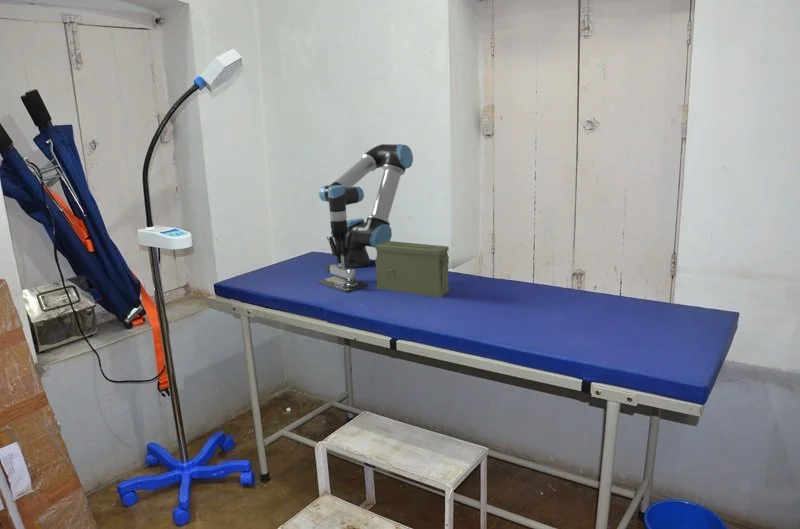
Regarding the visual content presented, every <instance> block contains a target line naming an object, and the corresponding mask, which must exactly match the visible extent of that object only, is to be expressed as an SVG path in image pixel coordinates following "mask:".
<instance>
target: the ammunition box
mask: <svg viewBox="0 0 800 529" xmlns="http://www.w3.org/2000/svg"><path fill="white" fill-rule="evenodd" d="M449 247H450V246H447V245H438V244H437V245H436V244H427V243H426V244H425V243H414V242H403V241H402V242H401V241H394V240H390V241H386V242H383V243H381V244H378V245H376V248H375V250H376V257H375V274H376V278H375V279H376V289H378V290H386V291H393V292H399V293H407V294H414V295H421V296H429V297H435V298H442V297H444V296H445V295H446V294H448V293H449V292H450V286H449V263H450V262H449V258H450V256H449V255H448V252H449Z"/></svg>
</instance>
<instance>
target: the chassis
mask: <svg viewBox="0 0 800 529" xmlns="http://www.w3.org/2000/svg"><path fill="white" fill-rule="evenodd" d="M355 281H356V282H355V283H352V284H350V283H348V279H347V278H344V277H341V276H338V275H334V276H331V277H327V278H324V279H319V280H317V283H318V284H320V285H323V286H325V287H329V288H332V289H334V290H336V291H340V292H342V293H347V294H348V293H350V292H354V291H357V290H360V289H365V288H367V287H368V283H365V282H361V281H358V280H355Z"/></svg>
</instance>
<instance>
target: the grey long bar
mask: <svg viewBox="0 0 800 529" xmlns="http://www.w3.org/2000/svg"><path fill="white" fill-rule="evenodd" d="M325 270H326V273H327V274H331V275H334V276H341V277H344V278H347V279H348V283H350V284H352V283H355V282H356V281H357V280H356V269H355V268H348V267H345V268H344V267H341V266H339V265H337V264H334V263H328V264H325Z"/></svg>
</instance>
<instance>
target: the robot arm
mask: <svg viewBox="0 0 800 529" xmlns="http://www.w3.org/2000/svg"><path fill="white" fill-rule="evenodd" d="M413 162H414V155H413V150H412V149H411V148H410V147H409V146H408V145H406V144H401V143H397V144H393V143H392V144H391V143H389V144H387V143H385V144H384V143H383V144H382V143H381V144H378V145H376V146H374V147H372V148H370V149H369V150H367V151H366V152H365V153H364V154H363V155H362V156H361V157H360V160H358V162H356V163H355V164H354V165H353V166H351V167H350V168H349V169H348V170H346V172H344V173H343V174H342V175H340V176H339V177H338V178H337V179H335V180H334V182H332V183H331V184H329V185H322V186H321V187H320V189H319V190H318V191H319V192H318V197H319V199H320V200H321V201H323V202H327V203H328V206H329V218H330V222H329V223H330V229H331V231H330V235H329V236H326V239H327V241H328V243H329V246H330V249H331V253H332V256H334V257H336V263H337V264H338V266H341V267H344V268H349V269H355V268H361V267H365V266H368V265H370V264H371V259H370V256H369V254H368V251H367V248H366V247H371V248H374V249H376V245H378V244H381V243H383V242H386V241H391V239H392V235H393V233H392V228H391V226H390V225H391V223H390V221H389V217H390V214H391V211H392V210H391V209H392V207H393V203H394V200H395V196H396V193H397V190H398V187H399V182H400V180H401V176H403V175H405V173H406V169H409V168H410V167H412V165H413ZM379 168H382V169H383V174H382V177H381V180H380V184H379V187H378V192H377V195H376V198H375V200H374V204H373V208H372V211H371V215H368V216H367V217H366V222H365V219H364V218H363V217H362V218H361V217H360V218H359V217H357V218H352V219H348V220H347V218H348V216H347V205H354V204H358V203H360V202H362V201H363V200H364V197H365V196H364V195H365V193H364V190H363V189H362V188H361V187H360V186H355V185H356V184H357V183H359V181H360V182H361V179H364V177H366V175H368V174H369V173H370V172H374V171H375V170H376V169H379Z"/></svg>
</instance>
